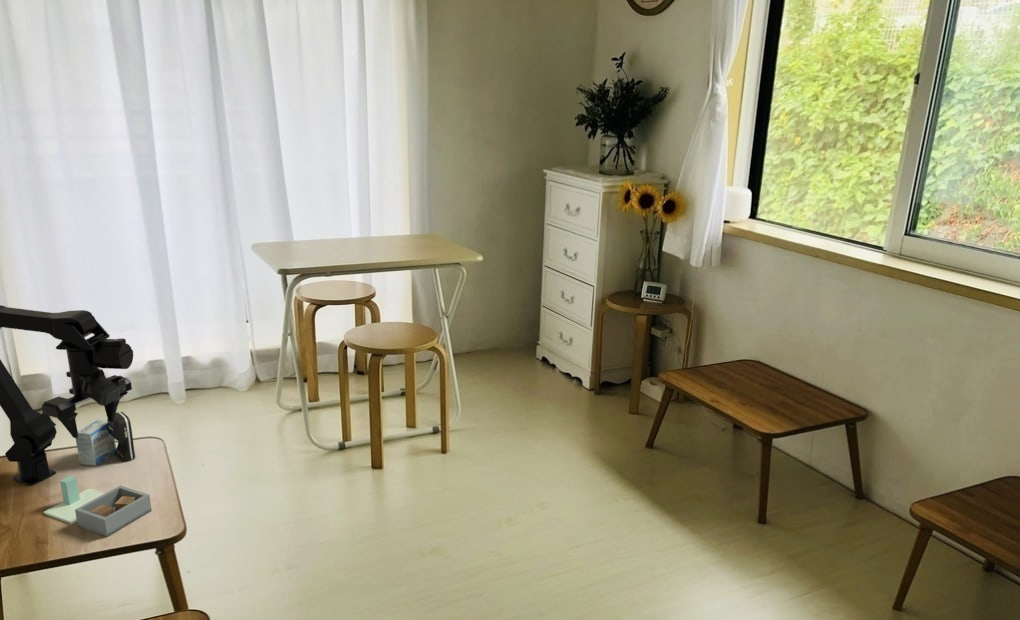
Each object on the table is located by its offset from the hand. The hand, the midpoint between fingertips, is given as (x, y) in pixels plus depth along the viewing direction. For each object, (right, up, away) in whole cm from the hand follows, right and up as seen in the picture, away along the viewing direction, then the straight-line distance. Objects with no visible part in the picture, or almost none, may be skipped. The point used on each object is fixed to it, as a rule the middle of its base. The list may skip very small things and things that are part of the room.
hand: (93, 429), depth 172 cm
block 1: (+10, -18, -13) cm, 24 cm away
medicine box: (-7, -10, +14) cm, 18 cm away
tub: (+11, -17, -12) cm, 24 cm away
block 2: (+13, -17, -10) cm, 23 cm away
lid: (+1, -16, -7) cm, 18 cm away
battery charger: (-1, -9, +15) cm, 17 cm away
